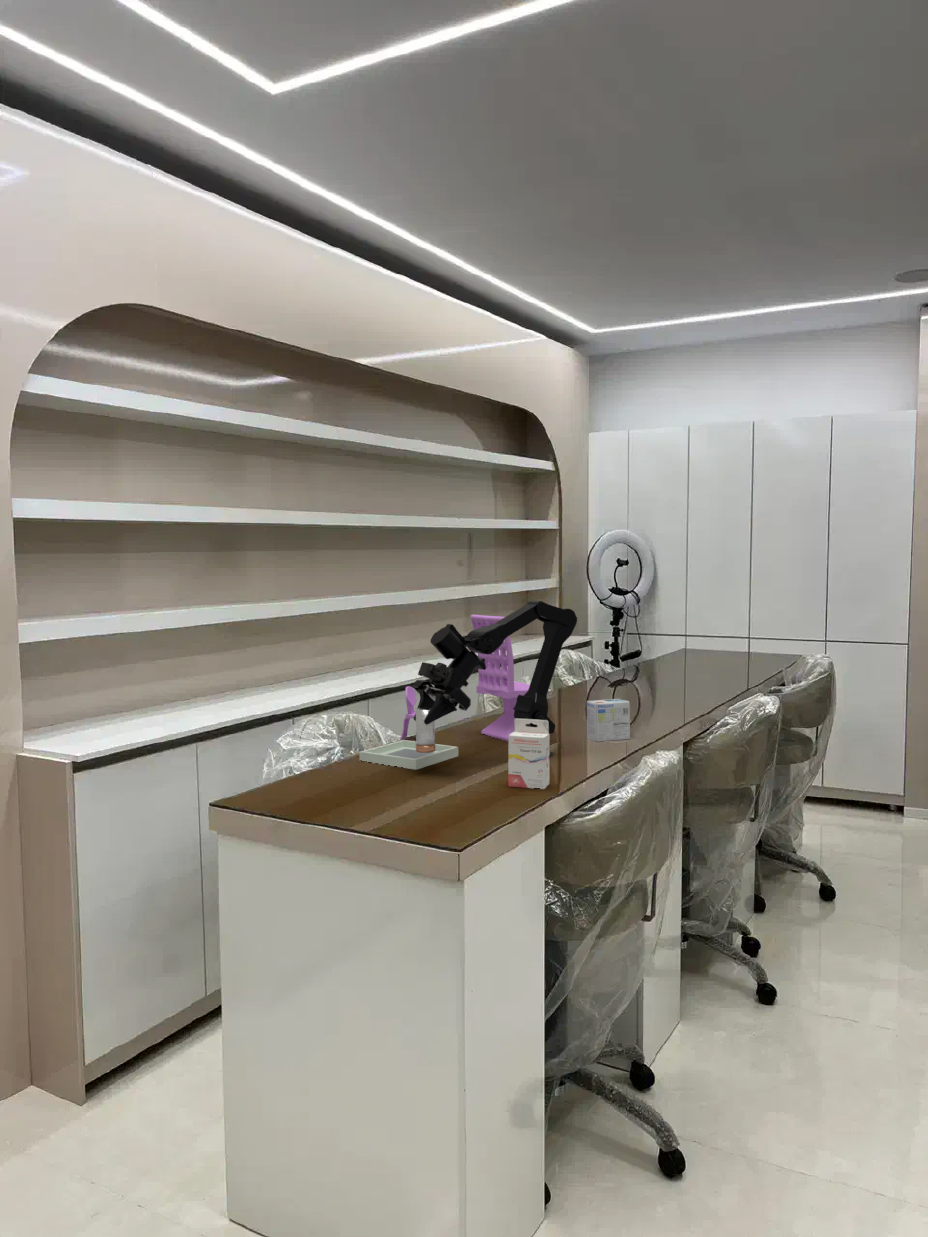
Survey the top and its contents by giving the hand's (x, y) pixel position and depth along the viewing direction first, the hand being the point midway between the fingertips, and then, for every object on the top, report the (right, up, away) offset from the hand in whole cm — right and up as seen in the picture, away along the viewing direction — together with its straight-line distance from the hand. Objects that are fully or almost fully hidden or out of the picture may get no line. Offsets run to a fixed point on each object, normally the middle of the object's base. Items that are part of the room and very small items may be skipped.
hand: (420, 721), depth 214 cm
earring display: (+23, -10, +46) cm, 53 cm away
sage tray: (-4, -11, +18) cm, 21 cm away
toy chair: (-3, -10, +44) cm, 45 cm away
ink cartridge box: (+25, -13, -12) cm, 31 cm away
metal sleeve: (+1, -7, +1) cm, 7 cm away
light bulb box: (+51, -10, +41) cm, 66 cm away
